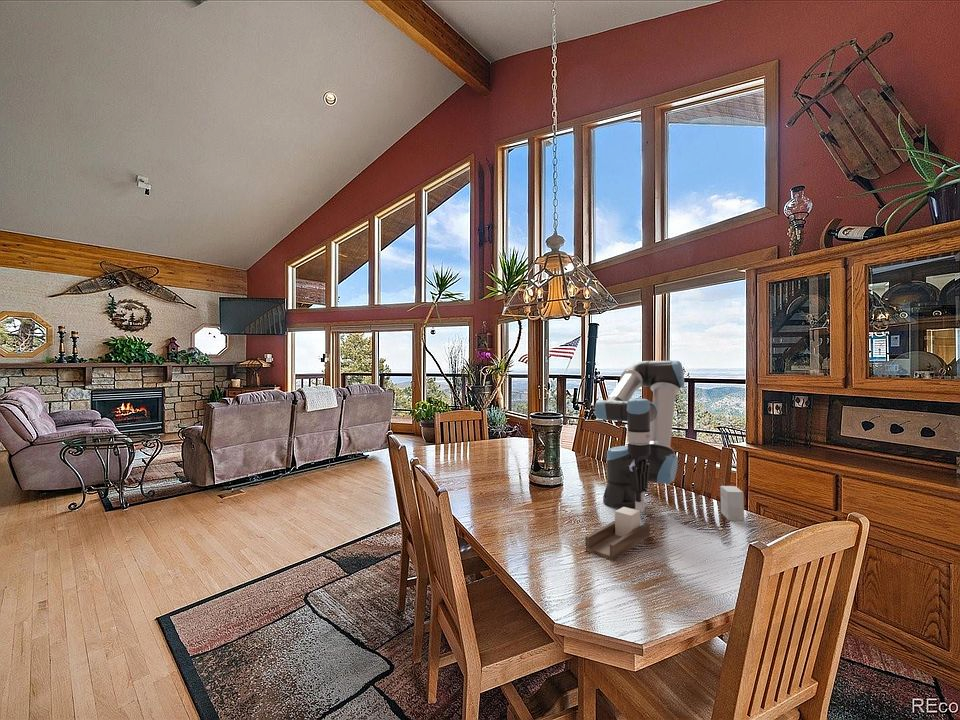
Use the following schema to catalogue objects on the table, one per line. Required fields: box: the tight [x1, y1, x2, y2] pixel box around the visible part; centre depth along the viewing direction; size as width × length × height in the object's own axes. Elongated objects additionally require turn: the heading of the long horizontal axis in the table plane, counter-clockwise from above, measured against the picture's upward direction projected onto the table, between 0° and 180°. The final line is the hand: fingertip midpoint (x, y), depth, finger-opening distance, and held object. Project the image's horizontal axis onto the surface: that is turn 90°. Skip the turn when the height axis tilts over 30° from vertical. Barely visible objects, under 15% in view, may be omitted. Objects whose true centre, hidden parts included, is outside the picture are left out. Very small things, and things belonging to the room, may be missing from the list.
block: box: [614, 507, 641, 537], centre depth 151 cm, size 6×6×8 cm
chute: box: [584, 520, 651, 561], centre depth 147 cm, size 10×24×4 cm, turn 134°
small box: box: [719, 485, 745, 521], centre depth 168 cm, size 8×6×10 cm
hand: (639, 510), depth 157 cm, fingers closed
